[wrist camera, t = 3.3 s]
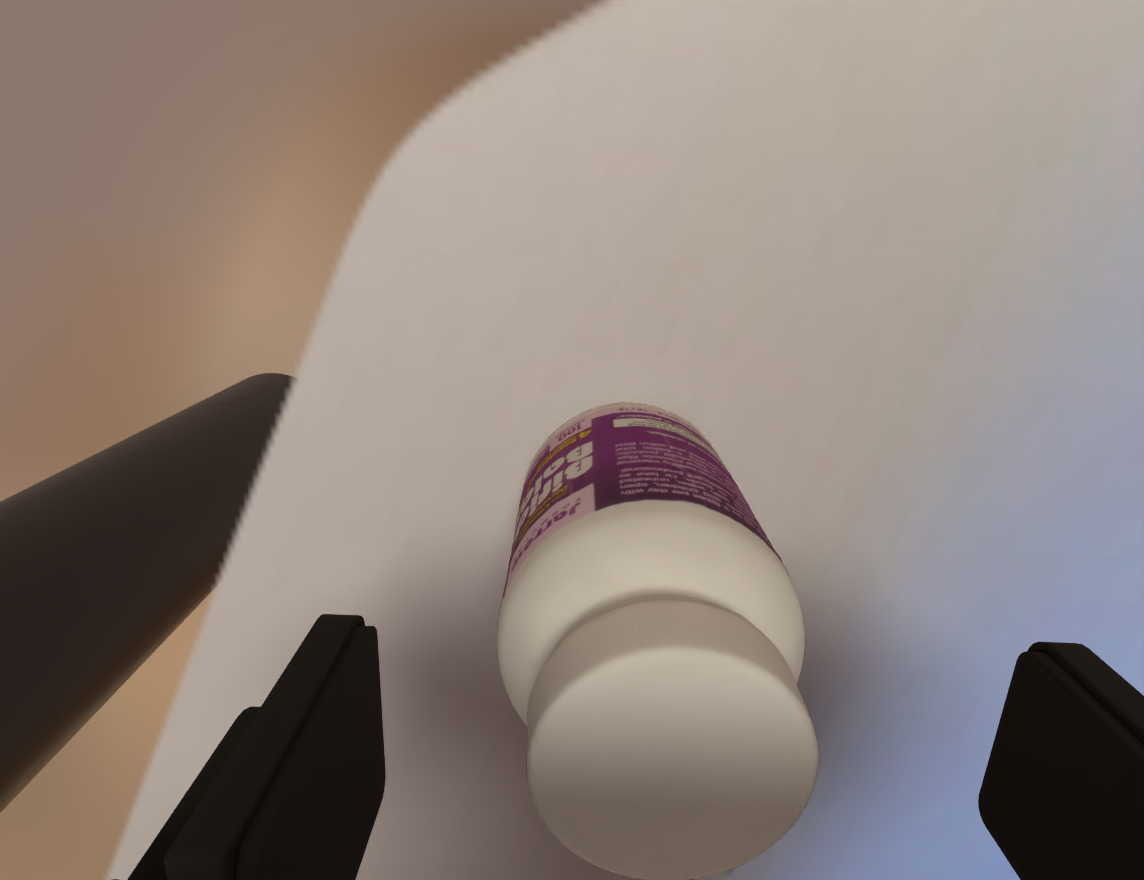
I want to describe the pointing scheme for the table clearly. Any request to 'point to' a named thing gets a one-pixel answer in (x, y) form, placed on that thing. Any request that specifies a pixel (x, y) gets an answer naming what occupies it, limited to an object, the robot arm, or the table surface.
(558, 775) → the pill bottle
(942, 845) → the table surface
